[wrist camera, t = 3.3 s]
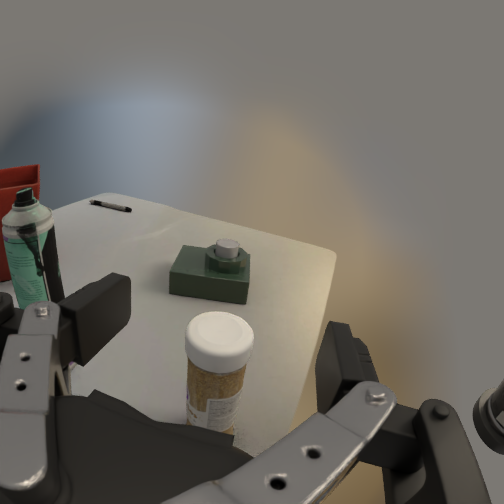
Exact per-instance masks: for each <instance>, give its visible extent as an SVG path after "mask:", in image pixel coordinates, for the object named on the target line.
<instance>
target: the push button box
mask: <svg viewBox="0 0 504 504" xmlns="http://www.w3.org/2000/svg"><path fill="white" fill-rule="evenodd" d="M215 250H216V245H212V246H210V247H208V248H201V247H194V246H187V245H183V247H182V249H181V251H180V253H179V254H178V256H177V258H176V260H175V262H174V264H173V266H172V268H171V270H170V278H169V293H170V294H176V295H182V296H189V297H195V298H202V299H209V300H216V301H224V302H231V303H239V304H246V300H247V294H248V288H249V280H250V254H247V253H246V252H245V251H244V250H243V249H242V248H239V250H238V256H237V257H236V258H230V259H228V258H222V257H219V256H217V255H216V254H215Z"/></svg>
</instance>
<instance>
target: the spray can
mask: <svg viewBox="0 0 504 504" xmlns="http://www.w3.org/2000/svg"><path fill="white" fill-rule="evenodd" d="M2 225H3V227H2V233H3V239H4V245H5V250H6V255H7V260H8V265H9V269H10V274H11V278H12V282H13V286H14V290H15V293H16V297H17V301H18V304H19V307H20V309H24V310H25V308H26V307H27V306H28V305H29V304H31V303H33V302H37V301H51V302H54V303H56V304H57V303H58V302H60V301H62V300H63V299H65V296H64V291H63V286H62V280H61V275H60V268H59V262H58V255H57V248H56V239H55V230H54V220H53V217H52V210H51V209H50V208H47V207H44V206H42V205H41V204H39V200H37V199H35V197H34V196H33V190H32V187H26V188H22V189H20V190H19V191H18V192H17V193H16V200H15V201H14V204H13V205H12V209H11V210H10V212H9V213H8V214H7V215H5V216H4V217H3V218H2ZM76 365H77V363H75V362H71V363H70V364H69V366H70V370H72V369H73V368H74V367H75V366H76Z"/></svg>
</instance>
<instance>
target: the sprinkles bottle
mask: <svg viewBox="0 0 504 504" xmlns="http://www.w3.org/2000/svg"><path fill="white" fill-rule="evenodd" d="M253 341H254V334H253V331H252V329H251V327H250V326H249V324H248V323H247V322H246V321H244V320H243V319H241V318H240V317H238V316H236V315H233V314H230V313H226V312H207V313H203V314H200V315H198V316H196V317H194V318H193V319H192V320H191V321H190V322H189V324H188V326H187V328H186V336H185V350H186V354H187V357H188V373H187V374H188V375H187V377H188V378H187V404H186V412H187V424H186V425H192V426H198V427H202V428H206V429H210V430H214V431H218V432H222V433H226V434H231V435H233V424H234V422H235V419H236V414H237V410H238V406H239V401H240V397H241V392H242V387H243V378H244V373H245V369H246V363H247V362H248V361H249V359H250V356H251V352H252V347H253Z"/></svg>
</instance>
